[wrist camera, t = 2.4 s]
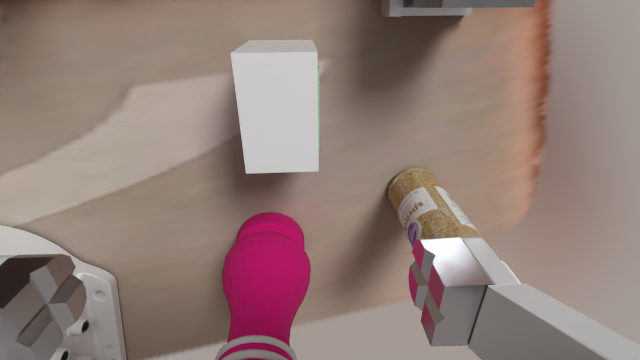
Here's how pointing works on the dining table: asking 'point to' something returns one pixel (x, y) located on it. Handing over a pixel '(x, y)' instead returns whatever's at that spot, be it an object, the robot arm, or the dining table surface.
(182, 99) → the dining table surface
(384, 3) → the rail
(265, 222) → the pepper mill
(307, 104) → the block
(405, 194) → the spice jar
